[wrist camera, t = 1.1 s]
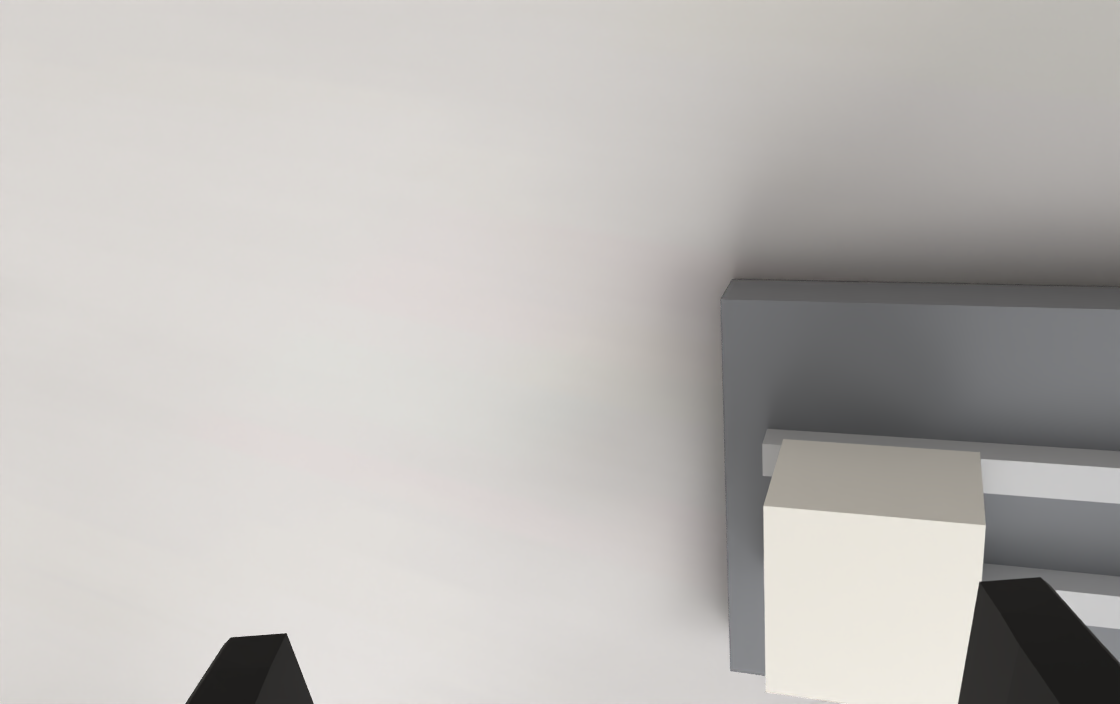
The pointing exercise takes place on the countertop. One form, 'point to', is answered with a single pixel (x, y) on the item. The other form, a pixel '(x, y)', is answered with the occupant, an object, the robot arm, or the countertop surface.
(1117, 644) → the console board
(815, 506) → the fader tab
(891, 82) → the countertop surface
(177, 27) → the countertop surface
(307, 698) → the robot arm
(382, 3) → the countertop surface
